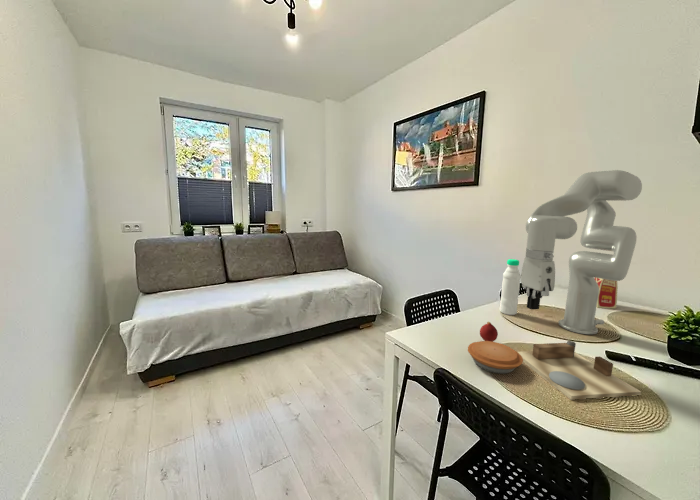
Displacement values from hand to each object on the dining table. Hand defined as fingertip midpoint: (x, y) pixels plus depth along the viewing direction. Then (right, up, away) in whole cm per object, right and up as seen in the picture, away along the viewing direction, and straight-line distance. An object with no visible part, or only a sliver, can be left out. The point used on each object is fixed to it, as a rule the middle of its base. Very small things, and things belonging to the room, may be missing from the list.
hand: (532, 308), depth 96 cm
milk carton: (+65, -8, +47) cm, 81 cm away
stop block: (+13, -16, -12) cm, 24 cm away
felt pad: (-1, -17, -17) cm, 24 cm away
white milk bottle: (+12, -10, +36) cm, 39 cm away
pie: (-16, -16, -6) cm, 24 cm away
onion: (-12, -14, +7) cm, 20 cm away
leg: (+4, -14, -4) cm, 16 cm away
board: (+4, -17, -11) cm, 21 cm away
